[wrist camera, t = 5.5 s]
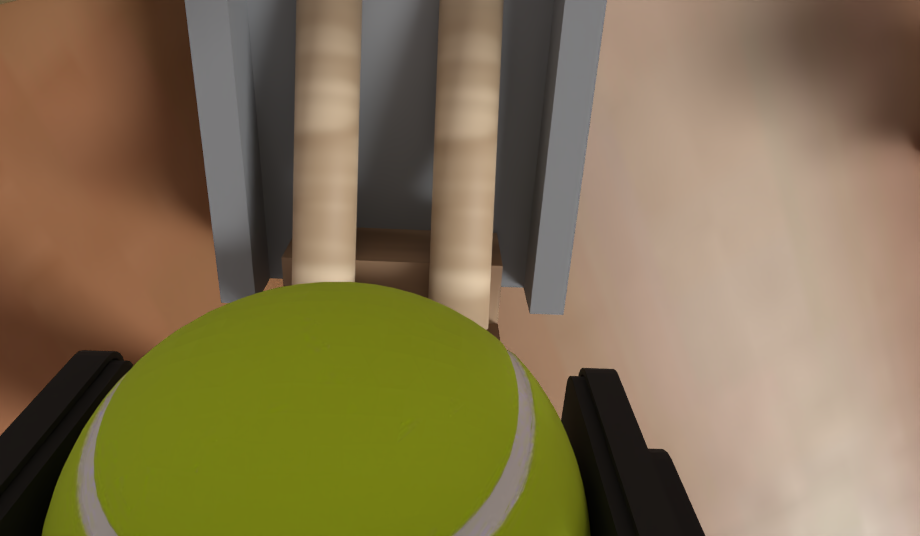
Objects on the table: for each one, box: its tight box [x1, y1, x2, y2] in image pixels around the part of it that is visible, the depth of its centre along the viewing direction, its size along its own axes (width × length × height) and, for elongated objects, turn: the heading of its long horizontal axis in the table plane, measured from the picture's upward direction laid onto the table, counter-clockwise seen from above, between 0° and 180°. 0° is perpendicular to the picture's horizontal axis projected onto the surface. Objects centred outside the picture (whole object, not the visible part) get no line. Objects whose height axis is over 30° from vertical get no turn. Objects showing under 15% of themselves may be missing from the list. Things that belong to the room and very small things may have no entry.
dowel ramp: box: [281, 0, 504, 341], centre depth 21 cm, size 13×7×8 cm, turn 177°
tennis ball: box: [42, 282, 590, 536], centre depth 9 cm, size 7×7×7 cm
